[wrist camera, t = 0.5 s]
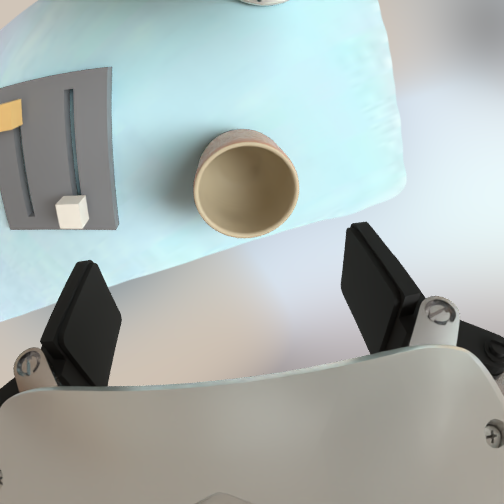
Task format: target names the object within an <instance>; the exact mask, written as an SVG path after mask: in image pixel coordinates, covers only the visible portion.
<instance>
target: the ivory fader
mask: <svg viewBox="0 0 504 504" xmlns="http://www.w3.org/2000/svg"><path fill="white" fill-rule="evenodd" d="M55 206H56V211H57V216H58V221H59V226H60V229H83V228H84V226H85V224H86V223H87V221H88V220H89V215H88V209H87V202H86V195H77V196H63V197H62V198H61V199H60V200H59V201H58V202H57V203H56V205H55Z"/></svg>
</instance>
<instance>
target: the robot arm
mask: <svg viewBox="0 0 504 504" xmlns="http://www.w3.org/2000/svg"><path fill="white" fill-rule="evenodd" d="M239 1H242V2H245V3H248V4H251V5H258V6H271V5H278V4H281V3H284V2H287V1H289V0H260V2H257V0H239ZM341 290H342V293H343V295H344V298H345V300H346V302H347V304H348V306H349V308H350V310H351V312H352V314H353V317H354V319H355V321H356V323H357V325H358V328H359V329H360V332H361V334H362V336H363V338H364V341H365V343H366V345H367V348H368V350H369V352H370V355H366V356H362V357H357V358H353V359H348V360H343V361H339V362H334V363H329V364H324V365H319V366H314V367H308V368H303V369H297V370H292V371H285V372H279V373H273V374H266V375H259V376H253V377H244V378H236V379H228V380H218V381H208V382H197V383H185V384H170V385H151V386H109V387H108V380H109V375H110V370H111V365H112V361H113V356H114V351H115V347H116V343H117V338H118V334H119V330H120V326H121V321H122V319H121V314H120V312H119V310H118V308H117V306H116V304H115V301H114V299H113V297H112V295H111V293H110V291H109V289H108V287H107V285H106V282H105V280H104V278H103V276H102V274H101V271H100V269H99V267H98V265H97V264H96V263H93V261H91V260H87V261H81V262H77V263H76V265H75V267H74V269H73V271H72V273H71V274H70V276H69V278H68V280H67V282H66V284H65V286H64V288H63V291H62V293H61V295H60V297H59V299H58V301H57V303H56V306H55V308H54V310H53V312H52V314H51V316H50V319H49V321H48V323H47V326H46V328H45V330H44V333H43V335H42V338H41V340H40V342H41V344H42V347H41V349H39V348H36V347H33V348H29V349H27V350H25V351H23V352H22V353H21V354H20V355H19V356H18V358H17V359H16V361H15V364H14V375H15V377H14V379H12V380H11V381H9V382H8V383H7V384H6V385H4V386H3V387H2V388H1V389H0V504H504V338H503V337H501V336H500V335H497V334H495V333H492V332H490V331H487V330H484V329H482V328H479V327H477V326H474V325H472V324H469V323H466V322H464V321H461V320H460V313H459V310H458V308H457V307H456V306H455V304H454V303H452V302H451V301H450V300H448V299H446V298H443V297H439V296H431V297H428V298H425V297H424V295H423V294H422V293H421V291H420V289H419V288H418V287H417V285H416V284H415V282H414V281H413V280H412V278H411V277H410V276H409V274H408V273H407V272H406V270H405V269H404V267H403V266H402V265H401V264H400V262H399V261H398V260H397V258H396V257H395V256H394V255H393V254H392V253H391V251H390V250H389V249H388V247H387V246H386V245H385V244H384V242H383V241H382V240H381V238H380V237H379V236H378V235H377V234H376V232H375V231H374V230H373V228H372V227H371V226H370V225H369V224H368V223H367V222H361V223H353V224H351V227H350V228H347V230H346V241H345V251H344V261H343V271H342V278H341Z"/></svg>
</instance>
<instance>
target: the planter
mask: <svg viewBox="0 0 504 504" xmlns="http://www.w3.org/2000/svg"><path fill="white" fill-rule="evenodd" d="M193 195H194V201H195V204H196V207H197V210H198V212H199V214H200V215H201V217H202V218H203V220H204V221H205V222H206V223H207V224H208V225H209V226H210V227H212V228H213V229H215V230H216V231H218V232H220V233H222V234H224V235H227V236H231V237H236V238H253V237H258V236H261V235H264V234H267V233H269V232H271V231H273V230H275V229H276V228H278V227H279V226H280V225H281V224H283V223H284V222H285V221H286V220H287V218H288V217H289V216H290V215H291V213H292V211H293V210H294V208H295V206H296V203H297V200H298V195H299V181H298V176H297V172H296V170H295V168H294V166H293V164H292V162H291V160H290V159H289V158H288V156H287V155H286V154H285V153H284V152H283V151H282V150H281V148H280V147H278V145H277V144H276V143H275V142H274V141H273V140H271V139H270V138H269V137H267V136H266V135H264V134H262V133H260V132H257V131H254V130H249V129H237V130H231V131H228V132H225V133H223V134H221V135H219V136H218V137H216V138H215V139H214V140H212V141H211V142H210V143H209V145H208V146H207V147H206V149H205V150H204V152H203V153H202V155H201V157H200V160H199V164H198V167H197V170H196V174H195V178H194V185H193Z"/></svg>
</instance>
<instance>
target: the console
mask: <svg viewBox="0 0 504 504" xmlns="http://www.w3.org/2000/svg"><path fill="white" fill-rule="evenodd" d="M70 89H73V99H74V126H75V142H76V154H77V164H78V173H79V181H80V189H81V195H86V202H87V209H88V215H89V220H88V221H87V223H86V224H85V226H84V228H83V229H73V230H116V229H117V227H118V225H119V219H118V210H117V201H116V190H115V179H114V165H113V148H112V116H111V90H112V67H103V68H95V69H88V70H81V71H75V72H69V73H63V74H58V75H52V76H47V77H43V78H38V79H34V80H30V81H26V82H22V83H18V84H14V85H10V86H7V87H3V88H0V104H2V103H6V102H10V101H14V100H18V99H21V106H22V122H23V124H22V125H20V126H21V134H20V126H18V127H16V128H14V129H12V130H7V131H2V132H0V190H1V195H2V199H3V204H4V208H5V212H6V216H7V219H8V223H9V227H10V230H38V229H60V226H59V221H58V216H57V211H56V206H55V205H56V203H57V202H58V201H59V200H60V199H61V198H62V197H63V196H77V195H78V192H77V185H76V178H75V169H74V160H73V149H72V137H71V120H70ZM21 137H22V144H21ZM22 146H23V152H22ZM23 154H24V159H23ZM24 161H25V166H24ZM25 168H26V172H25ZM26 174H27V178H26ZM27 180H28V184H27ZM28 185H29V189H28ZM29 191H30V194H29ZM30 196H31V199H30ZM31 201H32V204H31ZM32 205H33V209H32ZM33 210H34V211H33Z"/></svg>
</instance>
